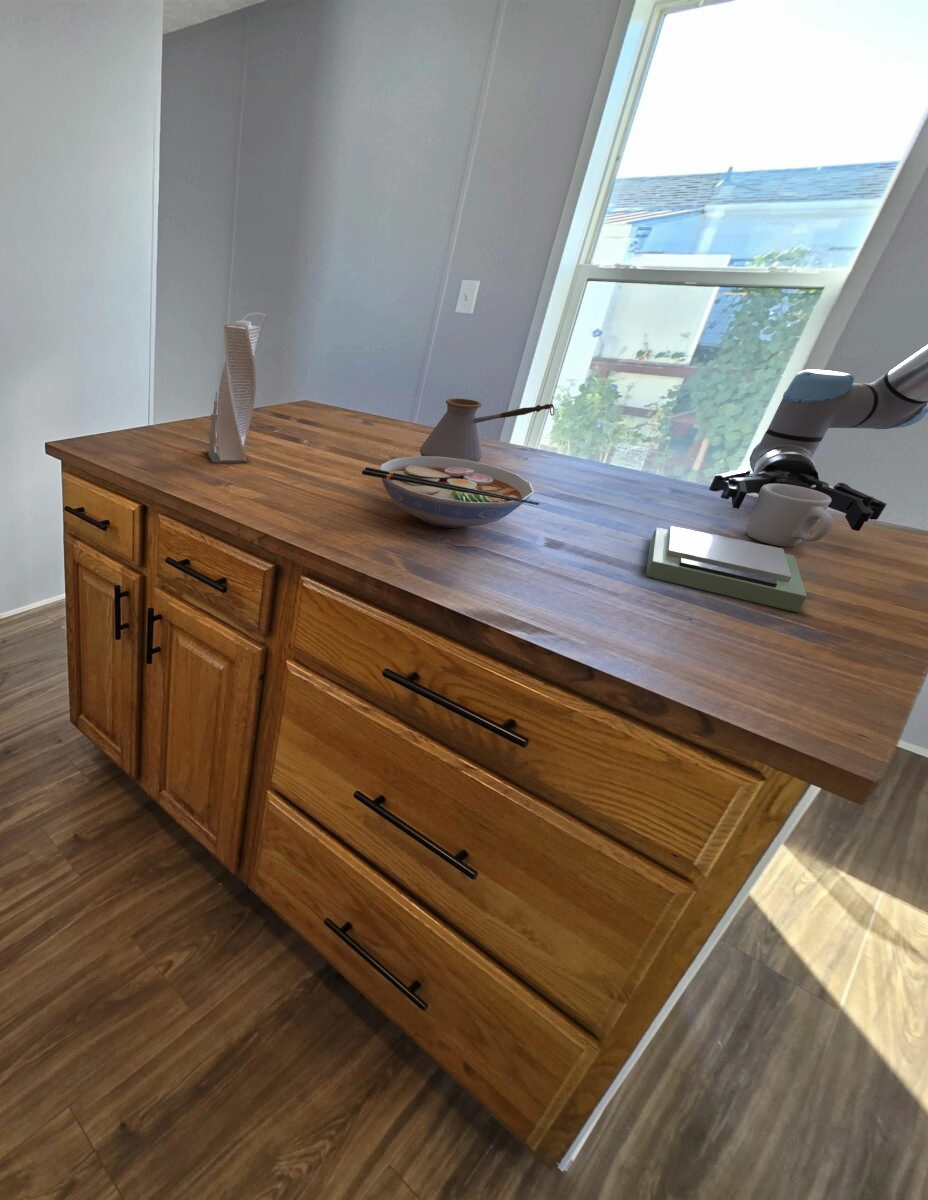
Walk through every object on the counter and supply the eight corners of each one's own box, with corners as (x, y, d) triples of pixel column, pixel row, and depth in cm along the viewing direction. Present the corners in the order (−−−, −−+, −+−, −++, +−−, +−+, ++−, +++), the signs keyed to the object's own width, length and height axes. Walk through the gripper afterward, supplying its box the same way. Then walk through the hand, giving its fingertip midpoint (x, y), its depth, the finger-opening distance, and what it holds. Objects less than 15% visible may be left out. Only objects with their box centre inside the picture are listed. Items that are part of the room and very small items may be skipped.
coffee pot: (407, 465, 133) (425, 390, 125) (430, 454, 140) (448, 381, 133) (520, 492, 120) (547, 410, 113) (538, 478, 127) (565, 399, 120)
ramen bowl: (534, 515, 111) (550, 468, 107) (518, 564, 94) (536, 511, 90) (384, 485, 122) (393, 442, 118) (346, 524, 106) (355, 476, 102)
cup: (836, 559, 97) (867, 509, 93) (783, 559, 97) (811, 508, 93) (773, 530, 106) (799, 483, 102) (724, 529, 106) (748, 482, 102)
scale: (785, 570, 93) (796, 550, 92) (797, 612, 83) (810, 590, 81) (650, 541, 102) (658, 522, 100) (645, 576, 91) (654, 555, 90)
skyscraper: (245, 452, 140) (260, 309, 126) (254, 464, 133) (271, 314, 119) (206, 452, 139) (217, 309, 125) (213, 464, 132) (225, 314, 118)
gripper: (872, 512, 108) (900, 556, 93) (685, 480, 121) (684, 514, 106) (899, 468, 104) (933, 506, 89) (703, 440, 117) (704, 469, 102)
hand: (798, 510), depth 98 cm, fingers open, 13 cm apart
